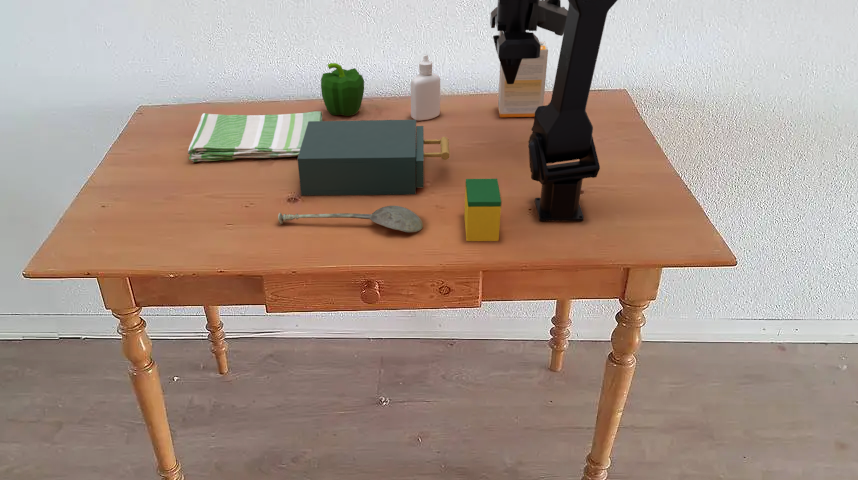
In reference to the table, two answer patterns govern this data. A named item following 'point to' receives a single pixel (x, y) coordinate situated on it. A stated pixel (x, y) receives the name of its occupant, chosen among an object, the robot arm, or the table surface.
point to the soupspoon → (374, 218)
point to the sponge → (482, 210)
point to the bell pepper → (342, 90)
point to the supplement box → (524, 87)
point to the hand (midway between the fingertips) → (510, 83)
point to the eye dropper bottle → (425, 92)
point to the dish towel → (249, 136)
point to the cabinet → (358, 158)
